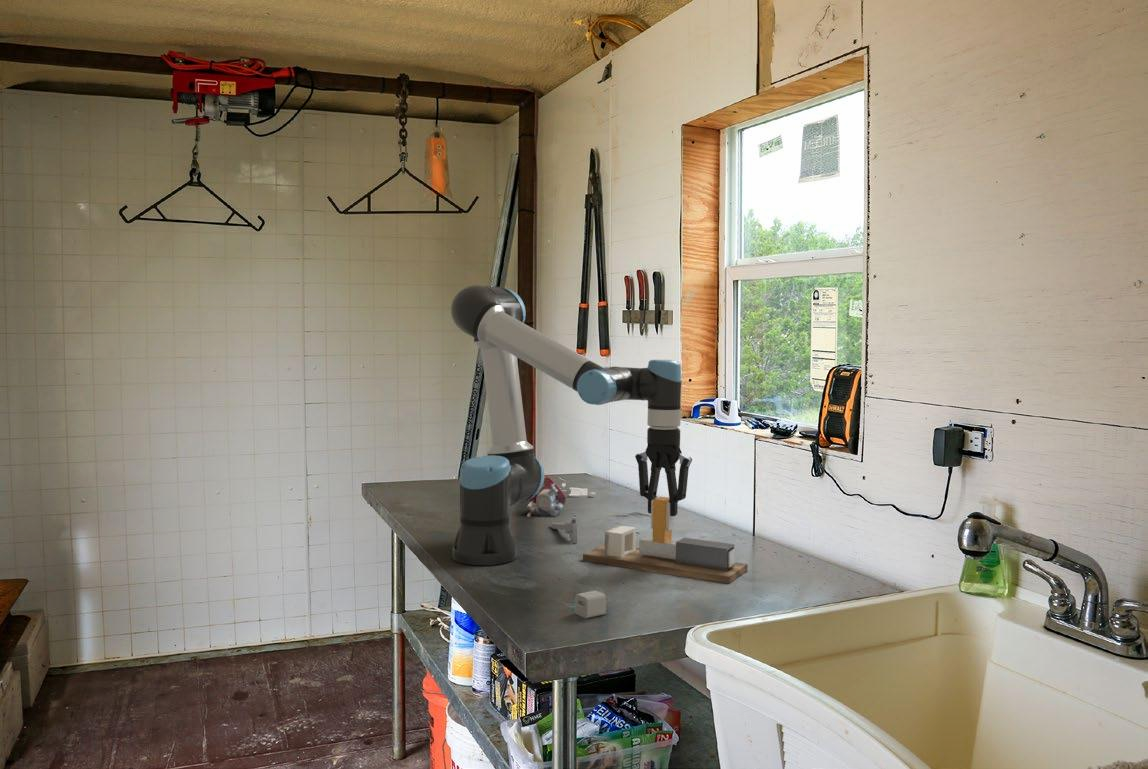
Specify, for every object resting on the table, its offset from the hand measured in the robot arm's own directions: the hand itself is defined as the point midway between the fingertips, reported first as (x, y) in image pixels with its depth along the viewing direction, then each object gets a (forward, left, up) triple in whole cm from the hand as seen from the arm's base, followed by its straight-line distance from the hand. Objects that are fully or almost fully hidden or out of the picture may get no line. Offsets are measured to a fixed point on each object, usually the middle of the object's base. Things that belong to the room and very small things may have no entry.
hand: (662, 528), depth 206 cm
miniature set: (+60, +69, -9) cm, 92 cm away
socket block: (0, +11, -7) cm, 13 cm away
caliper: (+14, +35, -9) cm, 38 cm away
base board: (0, 0, -9) cm, 9 cm away
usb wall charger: (-38, -3, -9) cm, 39 cm away
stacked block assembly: (0, -6, -6) cm, 9 cm away
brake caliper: (+34, +52, -9) cm, 62 cm away
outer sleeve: (0, -10, -7) cm, 13 cm away
